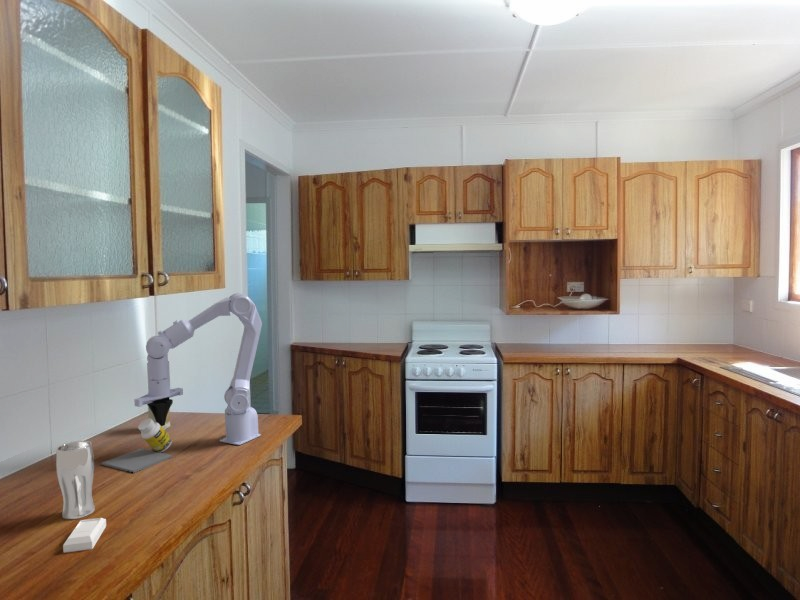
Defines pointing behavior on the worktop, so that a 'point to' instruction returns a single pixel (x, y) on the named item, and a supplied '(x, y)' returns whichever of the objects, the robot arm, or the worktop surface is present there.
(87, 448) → the beer glass
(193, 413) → the worktop surface
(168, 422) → the skincare box
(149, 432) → the supplement bottle
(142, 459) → the mat
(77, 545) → the soap bar
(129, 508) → the worktop surface
